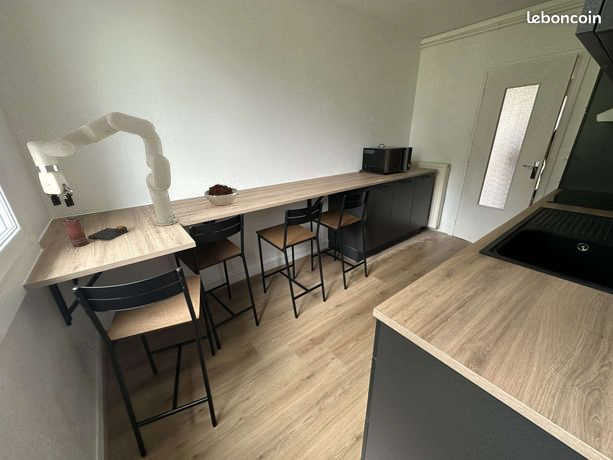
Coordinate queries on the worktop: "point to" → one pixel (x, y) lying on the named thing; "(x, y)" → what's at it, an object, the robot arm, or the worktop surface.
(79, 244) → the can
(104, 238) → the scale
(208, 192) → the filled cream bowl
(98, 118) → the robot arm
